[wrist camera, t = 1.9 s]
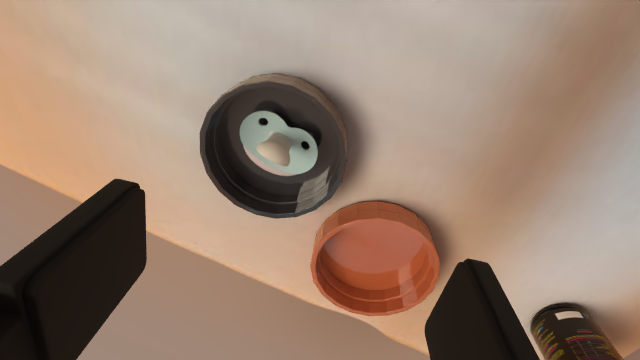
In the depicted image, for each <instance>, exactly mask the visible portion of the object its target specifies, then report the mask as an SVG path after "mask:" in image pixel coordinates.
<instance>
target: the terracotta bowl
mask: <svg viewBox="0 0 640 360" xmlns="http://www.w3.org/2000/svg"><path fill="white" fill-rule="evenodd" d="M439 271H440V260H439V257H438V253H437V250H436V247H435V244H434V241H433V238H432V236H431V234H430V231H429V229H428V227H427V225H426V224H425V223H424V222H423V221H422V220H421V219H420V218H419V217H418V216H417V215H416V214H414V213H412V212H410V211H408V210H407V209H405V208H403V207H401V206H399V205H395V204H390V203H385V202H379V201H374V202H362V203H356V204H353V205H351V206H348V207H345V208H342V209H340V210H338V211H337V212H335V213H334V214H333V215H331V216H330V217H329V218H328V219H326V220H325V221H324V223H323V224H322V226H321V228H320V229H319V231H318V232H317V234H316V238H315V243H314V249H313V254H312V260H311V272H312V277H313V281H314V283H315V284H316V286H317V288H318V289H319V291H320V292H321V294H322V295H323V296H324V297H326V298H327V299H328V300H329V301H331V302H332V303H333V304H334V305H336V306H338V307H340V308H342V309H345V310H347V311H349V312H352V313H356V314H362V315H367V316H386V315H392V314H396V313H399V312H403V311H406V310H408V309H410V308H412V307H414V306H416V305H417V304H419V303H421V302H422V301H423V300H424V299H425V298H426V297H427V296H428V295H429V294H430V293H431V292H432V291H433V289H434V287H435V285H436V282H437V280H438V278H439Z"/></svg>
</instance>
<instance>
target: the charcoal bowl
mask: <svg viewBox="0 0 640 360" xmlns="http://www.w3.org/2000/svg"><path fill="white" fill-rule="evenodd" d="M257 111H271V112H274V113H276V114H277V115H279V116H280V117H281V118H282V119H283V120H284V121H285V122H286V124H287V125H288V126H289V127H292V128H300V129H303V130H305V131H307V132H308V133H309V134H310V135H311V136H312V137H313V138H314V140H315V142H316V144H317V148H318V156H317V160H316V162H315V164H314V166H313V167H312V168H311V169H310V170H308V171H307V172H304V173H301V174H296V175H292V176H280V175H277V174H273V173H270V172H268V171H266V170H264V169H262V168H261V167H259V166H258V165H257V164H255V163H254V162H253V161H252V160H251V159H250V157H249V156H248V155H247V154H246V151H245V149H244V147H243V144H242V142H241V139H240V126H241V124H242V122H243V121H244V119H245V118H246V117H247V116H249V115H250V114H252V113H254V112H257ZM259 123H260V124H262V125H267V124H268V120H267V119H266V118H260V119H259ZM301 145H302V147H303V148H304V149H309V148H310V146H309V143H308V142H306V141H303V142H302V143H301ZM200 155H201V158H202V161H203V164H204V167H205V170H206V173H207V175H208V176H209V178H210V179H211V180H212V182H213V183H214V185H215V186H216V188H217V189H218V190H219V191H220V193H222V194H223V195H224V196H225V197H226V198H228V199H229V200H230V201H231V202H232V203H234V204H235V205H236V206H238V207H240V208H243V209H245V210H247V211H249V212H251V213H253V214H256V215H260V216H265V217H271V218H289V217H298V216H300V215H303V214H306V213H308V212H311V211H314V210H316V209H317V208H318V207H320V206H321V205H322V204H324V203H325V202H326V201H327V200H329V199H330V198H331V197H332V196H333V194H334V192H335V191H336V189H337V188H338V186H339V184H340V183H341V181H342V179H343V174H344V170H345V165H346V161H347V138H346V130H345V125H344V123H343V121H342V119H341V117H340V115H339V112H338V110H337V108H336V106H335V105H334V104H333V103H332V102H331V101H330V100H329V99H328V98H327V97H326V96H325V95H324V94H323V93H322V92H321V91H320V90H319V89H318V88H316V87H314V86H312V85H311V84H309V83H307V82H305V81H303V80H301V79H300V78H297V77H291V76H286V75H281V74H267V75H260V76H253V77H251V78H249V79H247V80H245V81H243V82H241V83H239V84H237V85H236V86H234V87H232V88H231V89H230V90H228V91H227V92H225V93H224V94H223V95H221V97H220V98H219V99H218V100H217V101H216V102H215V103H214V105H213V106H212V107H211V108H210V109H209V110H208V112H207V114H206V117H205V119H204V122H203V125H202V128H201V130H200Z"/></svg>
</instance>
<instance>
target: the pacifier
mask: <svg viewBox="0 0 640 360" xmlns="http://www.w3.org/2000/svg"><path fill="white" fill-rule="evenodd" d="M260 118H266V119H267V120H268V124H267V125H262V124H260V123H259V119H260ZM240 139H241V142H242V144H243V147H244V149H245V151H246V154H247V155H248V156H249V157H250V159H251V160H252V161H253V162H254V163H255V164H257V165H258V166H259V167H261V168H262V169H264V170H266V171H268V172H270V173H273V174H277V175H280V176H292V175H296V174H301V173H304V172H307V171H308V170H310V169H311V168H312V167H313V166H314V164H315V162H316V160H317V156H318V148H317V144H316V142H315V140H314V138H313V137H312V136H311V135H310V134H309V133H308V132H307V131H305V130H303V129H300V128H292V127H289V126H288V125H287V124H286V122H285V121H284V120H283V119H282V118H281V117H280V116H279V115H277V114H276V113H274V112H271V111H257V112H254V113H252V114H250V115H249V116H247V117H246V118H245V119H244V121H243V122H242V124H241V126H240ZM303 141H306V142H308V143H309V146H310V148H309V149H304V148H303V147H302V145H301V143H302V142H303Z"/></svg>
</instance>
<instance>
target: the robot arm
mask: <svg viewBox="0 0 640 360" xmlns="http://www.w3.org/2000/svg"><path fill="white" fill-rule="evenodd" d="M145 265H146V215H145V192H144V190H142V189H140V186H139V184H137V183H134V182H130V181H125V180H121V179H114V180H113V181H111V182H110V183H109V184H107V185H106V186H105V187H103V188H102V189H101V190H99V191H98V192H97V193H96V194H94V195H93V196H92V197H90V198H89V199H88V200H86V201H85V202H84V203H82V204H81V205H80V206H79V207H77V208H76V209H75V210H73V211H72V212H71V213H70V214H68V215H67V216H65V217H64V218H63V219H62V220H61V221H59V222H58V223H56V224H55V225H54V226H52V227H51V228H50V229H48V230H47V231H46V232H45V233H43V234H42V235H41V236H39V237H38V238H37V239H35V240H34V241H33V242H31V243H30V244H29V245H28V246H26V247H25V248H24V249H22V250H21V251H20V252H18V253H17V254H16V255H14V256H13V257H12V258H11V259H9V260H8V261H7V262H5V263H4V264H3V265H2V266H0V360H76V359H77V358H78V356H79V355H80V354H81V353H82V351H83V350H84V348H85V347H86V346H87V345H88V343H89V342H90V341H91V339H92V338H93V337H94V335H95V334H96V333H97V331H98V330H99V329H100V328H101V326H102V325H103V323H104V322H105V321H106V319H107V318H108V317H109V315H110V314H111V313H112V311H113V310H114V309H115V308H116V306H117V305H118V304H119V302H120V301H121V300H122V299H123V297H124V296H125V295H126V293H127V292H128V291H129V289H130V288H131V286H132V285H133V284H134V283H135V281H136V280H137V279H138V277H139V276H140V275H141V273H142V272H143V270H144V268H145ZM425 337H426V341H427V346H428V350H429V354H430V359H431V360H540V359H539V357H538V355H537V353H536V352H535V350H534V348H533V346H532V344H531V342H530V340H529V338H528V336H527V334H526V333H525V331H524V329H523V327H522V325H521V323H520V321H519V319H518V317H517V316H516V314H515V312H514V310H513V308H512V306H511V304H510V302H509V300H508V299H507V297H506V295H505V293H504V291H503V289H502V287H501V285H500V283H499V282H498V280H497V278H496V276H495V274H494V272H493V270H492V268H491V266H490V265H489V264H488V263H486V262H481V261H477V260H473V259H466V260H465V261H464V262H459V263H458V264H457V266H456V268H455V269H454V271H453V273H452V275H451V277H450V279H449V281H448V282H447V284H446V286H445V288H444V290H443V292H442V294H441V295H440V297H439V299H438V301H437V303H436V305H435V307H434V308H433V310H432V312H431V314H430V316H429V318H428V320H427V322H426V325H425Z"/></svg>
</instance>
